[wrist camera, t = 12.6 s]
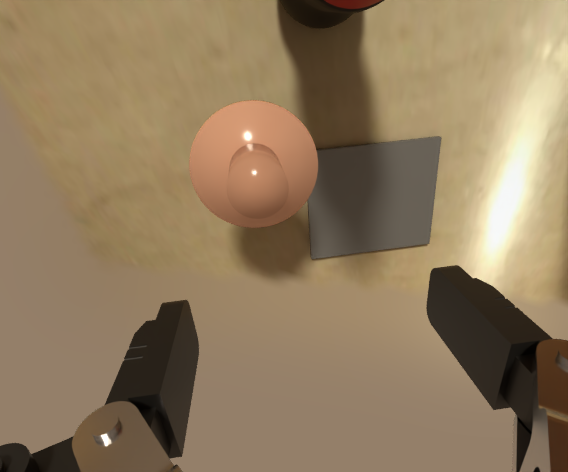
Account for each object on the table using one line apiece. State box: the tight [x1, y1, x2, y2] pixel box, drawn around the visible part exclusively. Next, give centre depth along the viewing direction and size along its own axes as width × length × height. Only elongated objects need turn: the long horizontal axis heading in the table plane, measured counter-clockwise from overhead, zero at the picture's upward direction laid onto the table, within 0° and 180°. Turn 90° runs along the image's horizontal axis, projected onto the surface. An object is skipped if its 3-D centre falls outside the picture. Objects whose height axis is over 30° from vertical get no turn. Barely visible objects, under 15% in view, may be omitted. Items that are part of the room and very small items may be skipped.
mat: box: [308, 136, 441, 259], centre depth 43 cm, size 16×14×1 cm
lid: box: [189, 100, 318, 228], centre depth 25 cm, size 10×10×6 cm
